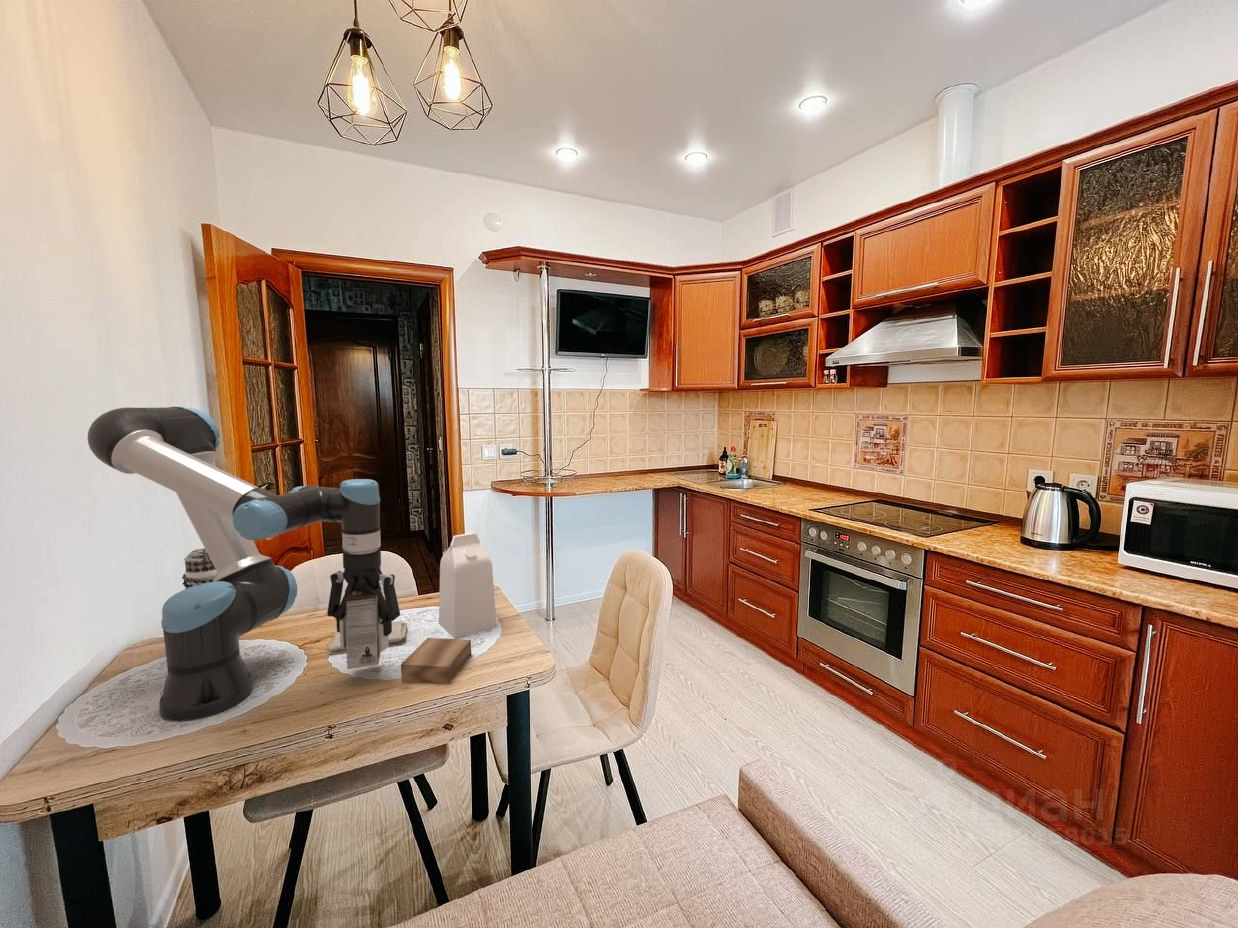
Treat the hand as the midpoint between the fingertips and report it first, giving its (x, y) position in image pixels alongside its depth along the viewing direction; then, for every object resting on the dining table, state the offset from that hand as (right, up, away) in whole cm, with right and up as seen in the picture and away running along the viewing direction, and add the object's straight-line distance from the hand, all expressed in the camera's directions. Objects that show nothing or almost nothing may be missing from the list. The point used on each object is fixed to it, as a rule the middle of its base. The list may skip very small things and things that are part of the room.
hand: (364, 646), depth 115 cm
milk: (+15, -4, +27) cm, 32 cm away
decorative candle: (-46, -5, +15) cm, 49 cm away
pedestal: (+15, -6, +4) cm, 17 cm away
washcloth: (-8, -5, +18) cm, 21 cm away
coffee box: (0, -3, 0) cm, 3 cm away
